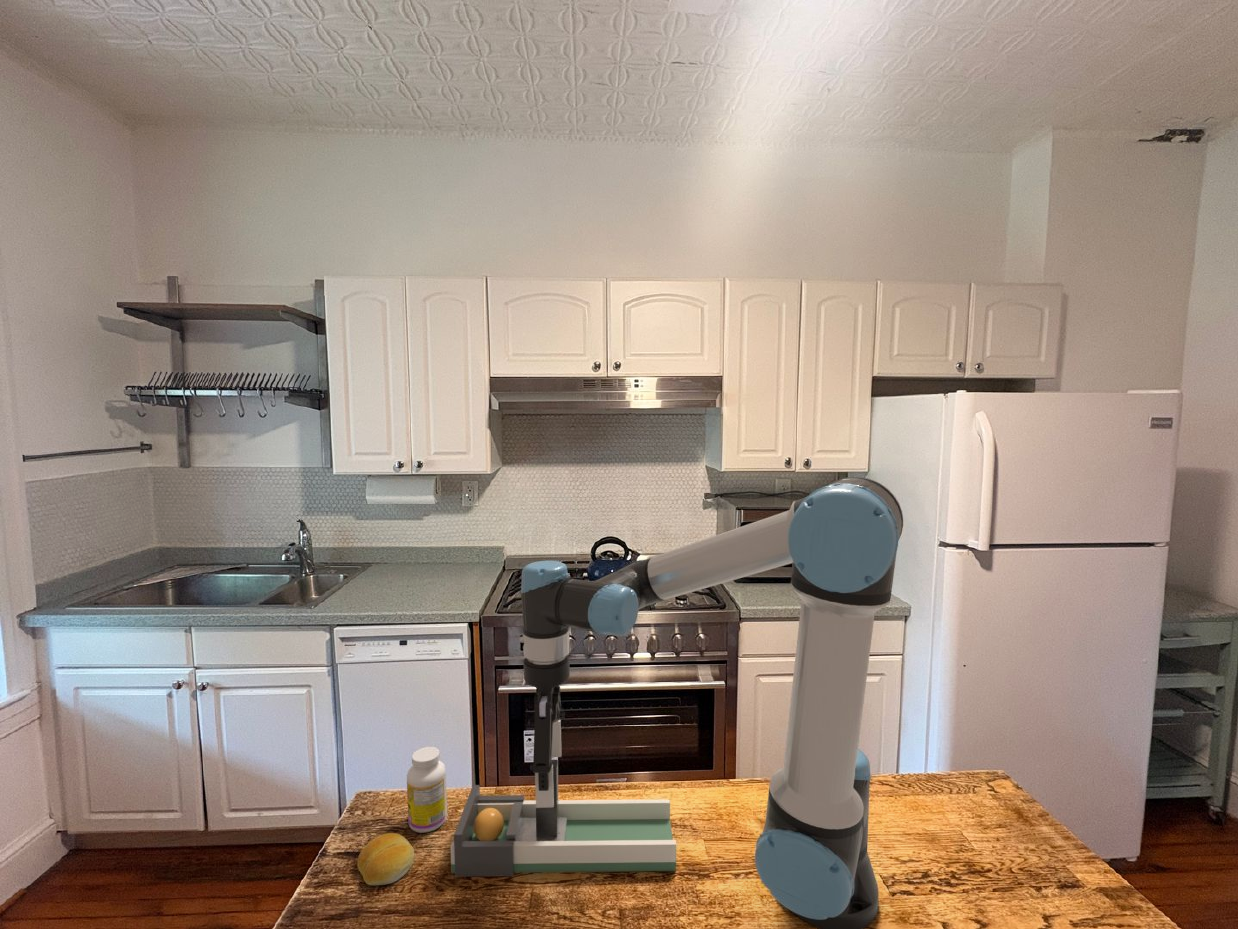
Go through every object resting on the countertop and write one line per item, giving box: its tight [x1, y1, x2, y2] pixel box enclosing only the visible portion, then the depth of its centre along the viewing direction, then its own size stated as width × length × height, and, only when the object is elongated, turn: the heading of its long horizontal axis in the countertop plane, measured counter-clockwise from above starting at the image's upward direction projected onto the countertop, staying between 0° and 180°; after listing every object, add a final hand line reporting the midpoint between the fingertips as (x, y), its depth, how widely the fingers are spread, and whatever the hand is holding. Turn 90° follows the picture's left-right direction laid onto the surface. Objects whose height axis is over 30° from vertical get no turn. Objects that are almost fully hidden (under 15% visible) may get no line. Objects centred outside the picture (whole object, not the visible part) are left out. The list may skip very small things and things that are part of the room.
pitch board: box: [450, 798, 677, 874], centre depth 98 cm, size 36×11×4 cm, turn 91°
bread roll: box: [357, 832, 415, 886], centre depth 94 cm, size 8×9×4 cm
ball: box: [474, 808, 504, 841], centre depth 98 cm, size 5×5×5 cm
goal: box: [453, 784, 526, 878], centre depth 98 cm, size 9×12×7 cm
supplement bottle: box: [406, 746, 448, 834], centre depth 104 cm, size 7×7×13 cm
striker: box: [506, 759, 567, 841], centre depth 98 cm, size 9×8×13 cm
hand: (549, 779), depth 97 cm, fingers open, 13 cm apart
